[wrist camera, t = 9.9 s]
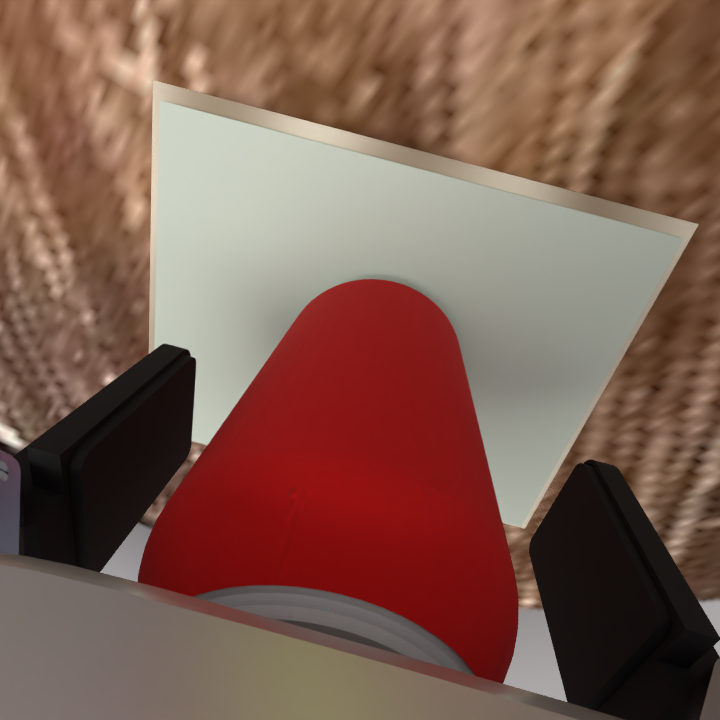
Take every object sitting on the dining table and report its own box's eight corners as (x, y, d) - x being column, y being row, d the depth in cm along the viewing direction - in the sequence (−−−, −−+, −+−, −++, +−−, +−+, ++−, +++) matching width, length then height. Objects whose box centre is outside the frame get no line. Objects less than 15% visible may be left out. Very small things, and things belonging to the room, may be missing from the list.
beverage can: (265, 307, 16) (-24, 614, 5) (424, 242, 15) (455, 497, 4) (334, 435, 18) (225, 835, 8) (479, 391, 17) (597, 822, 6)
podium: (646, 211, 17) (708, 226, 13) (509, 477, 23) (527, 537, 20) (201, 93, 17) (144, 77, 13) (183, 392, 23) (141, 436, 20)
